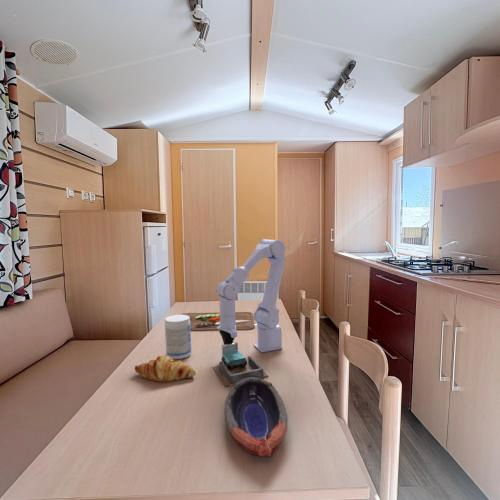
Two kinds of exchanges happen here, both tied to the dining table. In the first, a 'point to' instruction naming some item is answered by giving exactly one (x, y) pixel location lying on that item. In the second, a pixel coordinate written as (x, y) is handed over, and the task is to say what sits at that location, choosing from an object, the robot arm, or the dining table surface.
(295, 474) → the dining table surface
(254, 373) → the dock bay
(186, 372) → the croissant
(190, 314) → the chopping board
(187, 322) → the supplement tub
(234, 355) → the trolley
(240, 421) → the dish
